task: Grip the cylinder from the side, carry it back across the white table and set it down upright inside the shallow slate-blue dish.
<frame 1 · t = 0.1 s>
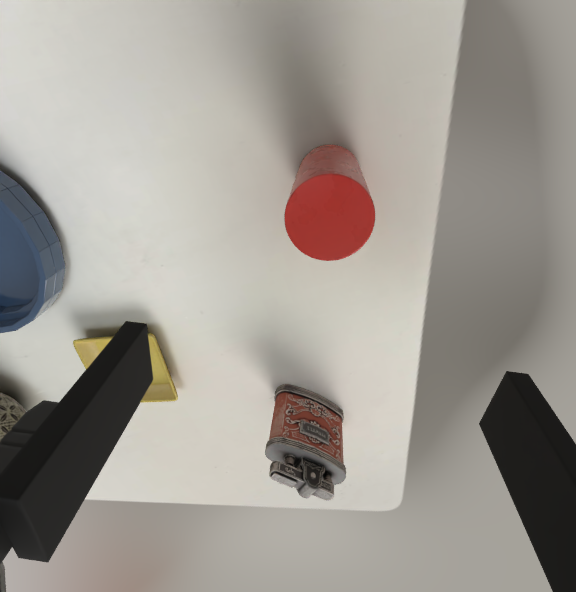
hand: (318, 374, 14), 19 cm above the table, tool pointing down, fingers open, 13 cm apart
cylinder: (328, 177, 28), on the table
decorative egg: (9, 402, 45), on the table
saucer: (136, 357, 40), on the table
lighter: (309, 402, 41), on the table
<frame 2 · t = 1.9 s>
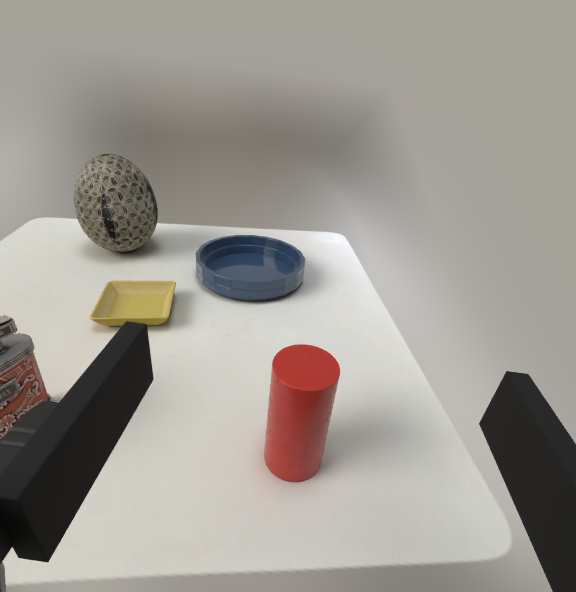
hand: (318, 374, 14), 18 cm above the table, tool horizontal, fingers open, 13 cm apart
cylinder: (292, 455, 31), on the table
dish: (250, 276, 58), on the table
decorative egg: (123, 250, 62), on the table
saucer: (138, 313, 47), on the table
lighter: (4, 433, 31), on the table
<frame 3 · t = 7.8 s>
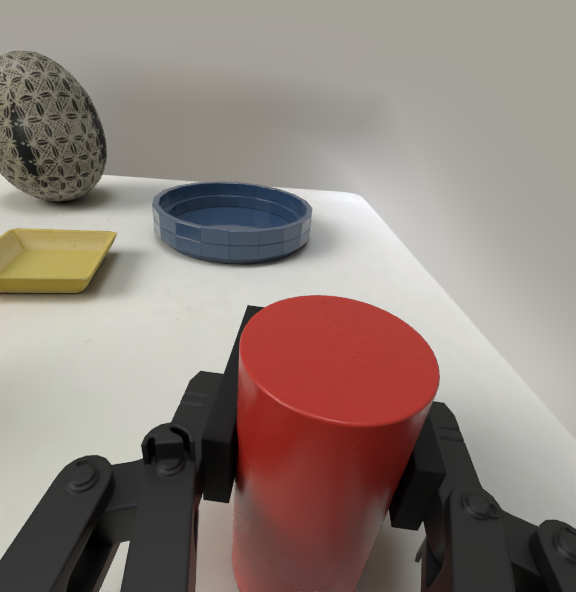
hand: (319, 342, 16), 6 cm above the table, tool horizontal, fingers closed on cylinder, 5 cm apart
cylinder: (295, 551, 14), on the table, touching gripper
dish: (234, 233, 41), on the table
decorative egg: (61, 201, 45), on the table
saucer: (52, 276, 30), on the table
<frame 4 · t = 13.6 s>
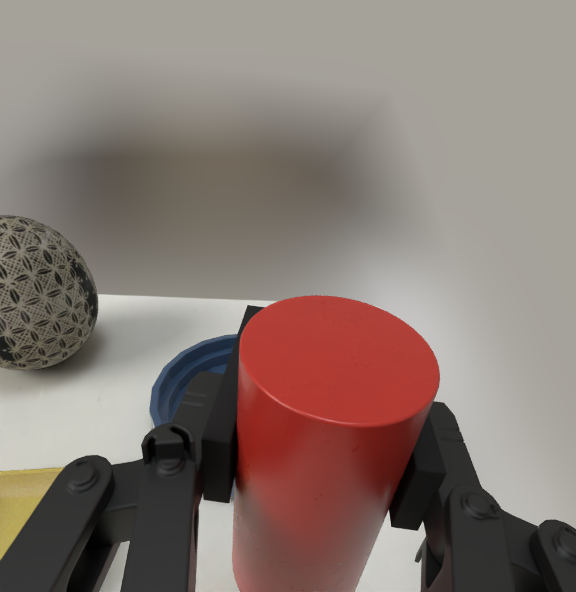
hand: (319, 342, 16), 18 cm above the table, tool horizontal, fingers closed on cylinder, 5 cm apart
cylinder: (295, 551, 14), point 12 cm above the table, touching gripper
dish: (246, 417, 34), on the table
decorative egg: (45, 358, 39), on the table
saucer: (22, 551, 24), on the table
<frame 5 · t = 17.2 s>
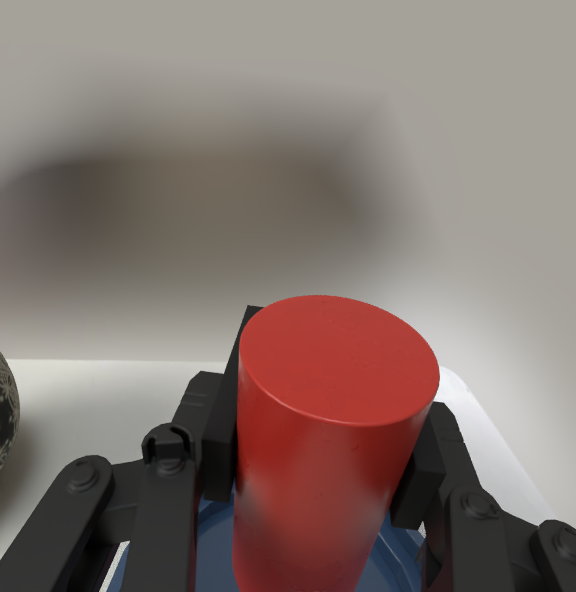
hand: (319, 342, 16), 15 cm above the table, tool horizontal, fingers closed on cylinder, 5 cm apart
cylinder: (295, 551, 14), point 9 cm above the table, touching gripper
when the fingers open (7 cm above the table, at t = 19.6 s): cylinder stays where it is, resting on dish.
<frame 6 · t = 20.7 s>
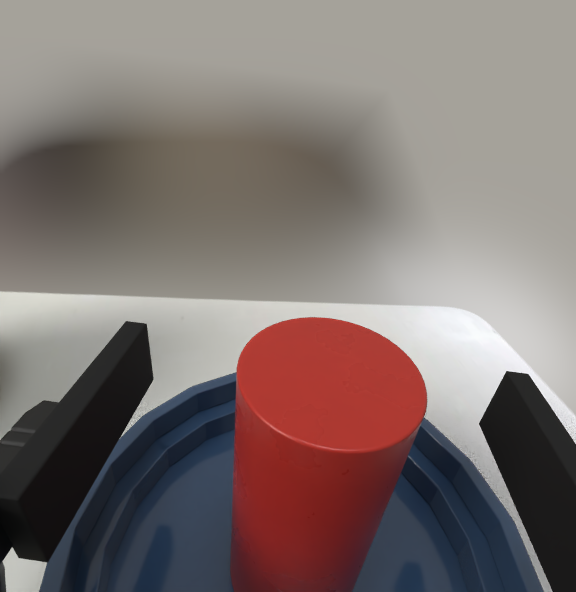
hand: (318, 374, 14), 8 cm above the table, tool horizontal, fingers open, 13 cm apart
cylinder: (291, 561, 15), point 1 cm above the table, touching dish
dish: (290, 570, 15), on the table
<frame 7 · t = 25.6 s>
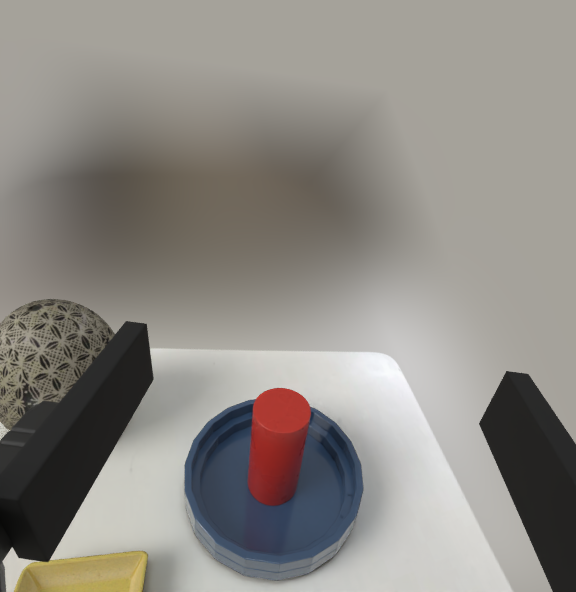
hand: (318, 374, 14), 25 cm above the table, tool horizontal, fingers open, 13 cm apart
cylinder: (272, 481, 36), point 1 cm above the table, touching dish
dish: (272, 486, 36), on the table
decorative egg: (75, 423, 40), on the table
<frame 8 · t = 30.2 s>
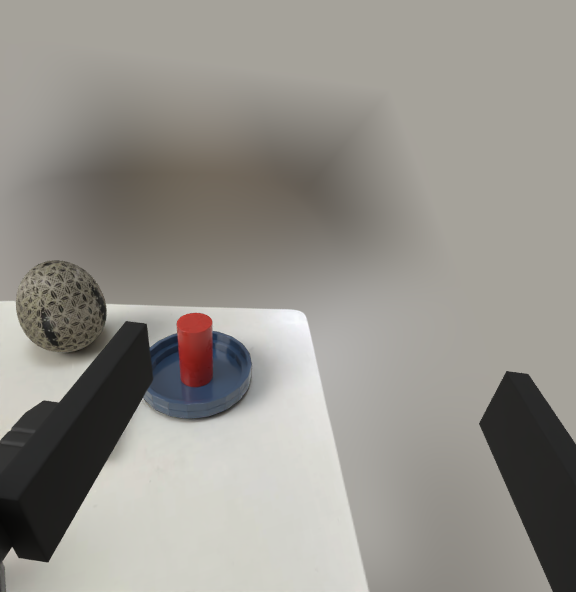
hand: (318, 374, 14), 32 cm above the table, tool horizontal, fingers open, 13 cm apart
cylinder: (196, 375, 57), point 1 cm above the table, touching dish
dish: (197, 379, 57), on the table
decorative egg: (73, 346, 61), on the table
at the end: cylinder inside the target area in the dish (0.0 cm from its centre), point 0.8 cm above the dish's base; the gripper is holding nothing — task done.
